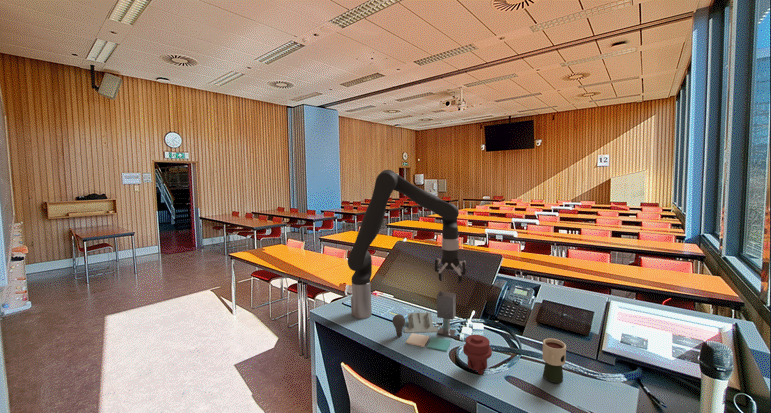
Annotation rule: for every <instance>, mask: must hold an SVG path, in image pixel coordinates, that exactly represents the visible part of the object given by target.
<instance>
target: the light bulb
mask: <svg viewBox="0 0 771 413" xmlns="http://www.w3.org/2000/svg"><path fill="white" fill-rule="evenodd" d="M405 324H406V318H405V317H404V316H403V315H402V314H399V313H398V314H395V315H394V316H393V317H392V325H393V327H394V328H395V333H396V336H397V337H398V338H400V337H402V336H403V328H404V326H405Z"/></svg>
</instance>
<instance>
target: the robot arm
mask: <svg viewBox="0 0 771 413" xmlns="http://www.w3.org/2000/svg"><path fill="white" fill-rule="evenodd" d="M393 191H395V192H398V193H400V194H403V195H405V196H406V197H407V198H408V199H410V200H411V201H413V202H414V203H415V204H417V205H419V206H420V207H422V208H424V209H426V210H428V211H430V212H433V213H435V214H436V215H438V216H439V217H441V218H442V219H441V220H442V235H441V236H442V237H441V238H442V239H441V258H439V257H437V258H436V259H434V272H435V273H436V272H437V273H438V280H439V281H440V282H443V280H444V279H443V271H444V270H445V269H446V270H452V271H455V272H456V273H457V274H458V280H457V281H458V284H461V283H462V282H463V276H465V275H466V274H467V272H468V271H467V261H466V260H460V257H459V256H460V250H459V248H460V244H459V243H460V241H459V227H458V217H459V213H460V211H459V209H458V207H457V206H456V205H455V204H454V203H451V202H450V203H449V202H447V201H445V200H443V199H441V198H440V197H438V196H437V195H435V194H433V193H431V192H429V191H427V190H425V189H423V188H420V187H419V186H417V185H415V184H413V183H411V182H409V181H408V180H407V179H405V178H403V177H402V176H401V175H399V174H398V173H396V172H395V171H393V169H392V170H391V169H384V170H382V171H381V172H380V173H379V174H378V175H377V177H376V178H375V183H374V187H373V191H372V196H371V199H370V201H369V203H368V206H367V207H366V210H365V213H364V215H363V218H362V220H361V225H360V227H359V230H358V233H357V235H356V238H355V242H354V244H353V246H352V247H351V248H352V249H351V250H350V252H349V254H348V257H347V265H348V267H349V269H350V270H351V271H352V272H353V271H354V273H353V275H352V276H351V293H352V294H351V295H352V296H351V297H350V306H351V307H350V308H351V310H350V311H351V316H353V317H354V318H356V319H360V320H361V319H363V320H364V319H367V318H368V319H369V317H371V316H372V294H371V293H372V292H371V290H372V289H371V287H372V286H371V277H372V273H373V272H372V270H373V268H372V267H373V262H372V255H371V252H370V251H369V250H368V249H369V247H370V246H371V244H372V243H373V241H375V239H376V238H377V236H378V234H379V232H380V231H381V228H382V225H383V223H384V219H385V214H386V209H387V205H388V202H389V200H390V197H391V195H392V193H393ZM439 264H442V267H440V268H439ZM460 266H462V270H461V268H460Z"/></svg>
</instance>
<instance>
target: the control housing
mask: <svg viewBox="0 0 771 413" xmlns="http://www.w3.org/2000/svg"><path fill="white" fill-rule="evenodd" d="M456 295H457V294H456V292H447V291H439V292H438V293H437V295H436V318H439V319H442V327H439V328H438V332H437V333H436V334H437V335H439V336H444V337H449V338H454V336H455V334H456V330H455V329H451V321H454V320H455V317H456V315H457V313H456V310H457V309H456V308H457V307H456V306H457V305H456V301H457V300H456V299H457V298H456Z"/></svg>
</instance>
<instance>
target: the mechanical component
mask: <svg viewBox="0 0 771 413" xmlns="http://www.w3.org/2000/svg"><path fill="white" fill-rule="evenodd" d="M462 350H463V351H462V352H463V354H464V355H465V356H466V357H467V364H468V365H467V368H468V367H469V368H471V369H473V370H472V371H474V370H476V371H478V373H477V374H478V375H483V374H484V371H485V370H487V368H488V359H490V358H491V357H492V355H493V350H492V347H491V346H490V340H489V338H488V337H486V336H484V335H481V334H470V335H468V336H466V337H465V344H464V345H463V347H462ZM476 371H475V372H476Z"/></svg>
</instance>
